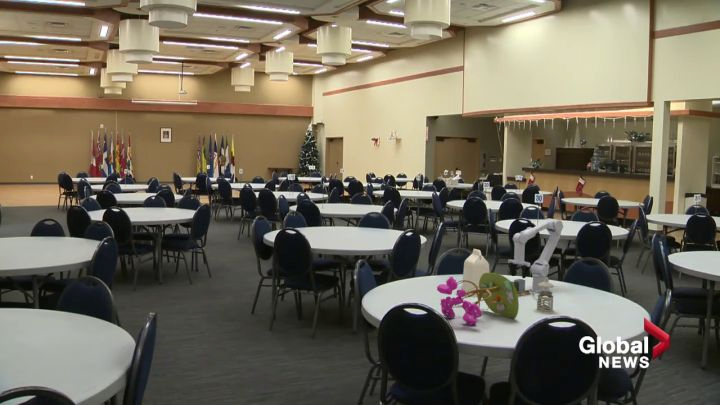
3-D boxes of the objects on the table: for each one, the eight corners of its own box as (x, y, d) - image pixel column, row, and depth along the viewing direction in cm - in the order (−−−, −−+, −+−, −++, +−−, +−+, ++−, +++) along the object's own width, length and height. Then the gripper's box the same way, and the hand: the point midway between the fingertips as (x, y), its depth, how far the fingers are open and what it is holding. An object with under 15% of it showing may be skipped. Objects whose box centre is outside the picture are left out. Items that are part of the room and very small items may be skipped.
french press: (551, 314, 327) (553, 265, 325) (529, 311, 333) (530, 263, 331) (557, 310, 335) (559, 263, 333) (534, 307, 341) (536, 260, 339)
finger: (524, 291, 375) (525, 280, 374) (518, 293, 371) (518, 281, 371) (519, 290, 378) (519, 278, 377) (513, 291, 375) (513, 279, 374)
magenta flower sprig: (515, 259, 310) (459, 276, 292) (530, 317, 308) (475, 338, 290) (475, 265, 336) (422, 281, 318) (489, 319, 334) (436, 338, 316)
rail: (517, 291, 381) (517, 277, 381) (530, 294, 373) (531, 280, 373) (496, 294, 370) (497, 281, 370) (510, 298, 363) (510, 284, 362)
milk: (461, 293, 374) (462, 248, 372) (479, 291, 377) (480, 247, 375) (471, 297, 363) (472, 251, 360) (489, 296, 366) (491, 251, 364)
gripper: (505, 252, 378) (504, 275, 379) (525, 256, 366) (524, 279, 367) (512, 251, 382) (512, 274, 383) (532, 255, 371) (532, 278, 372)
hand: (518, 277), depth 376 cm, fingers open, 7 cm apart
